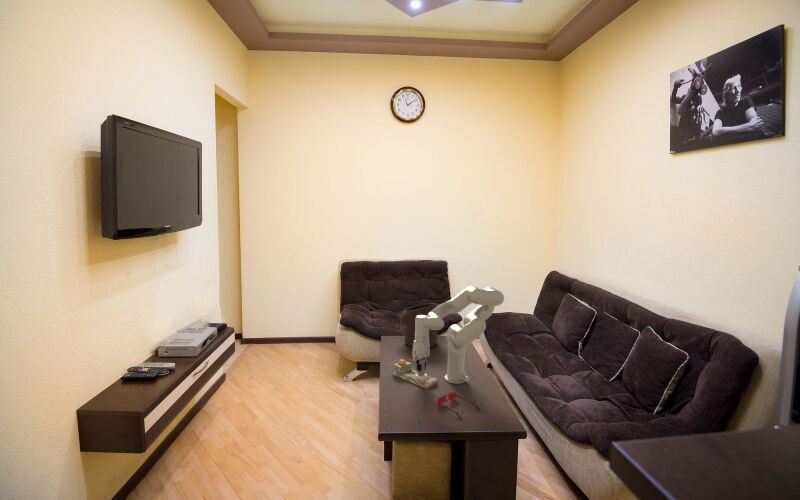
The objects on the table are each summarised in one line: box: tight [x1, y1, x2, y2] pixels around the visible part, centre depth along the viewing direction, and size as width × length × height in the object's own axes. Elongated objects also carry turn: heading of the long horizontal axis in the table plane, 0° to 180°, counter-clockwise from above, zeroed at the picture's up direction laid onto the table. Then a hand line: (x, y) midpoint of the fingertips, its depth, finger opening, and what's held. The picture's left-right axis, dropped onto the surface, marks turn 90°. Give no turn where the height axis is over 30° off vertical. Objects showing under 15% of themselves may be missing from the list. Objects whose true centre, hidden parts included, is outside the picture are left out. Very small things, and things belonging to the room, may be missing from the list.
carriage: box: [415, 358, 428, 381], centre depth 226 cm, size 5×5×12 cm
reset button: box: [398, 359, 406, 366], centre depth 237 cm, size 4×4×3 cm
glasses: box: [436, 391, 481, 421], centre depth 197 cm, size 14×16×5 cm
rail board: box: [392, 361, 438, 390], centre depth 230 cm, size 26×9×6 cm, turn 44°
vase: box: [399, 302, 438, 348], centre depth 291 cm, size 27×27×30 cm
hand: (421, 369), depth 226 cm, fingers closed on carriage, 2 cm apart
